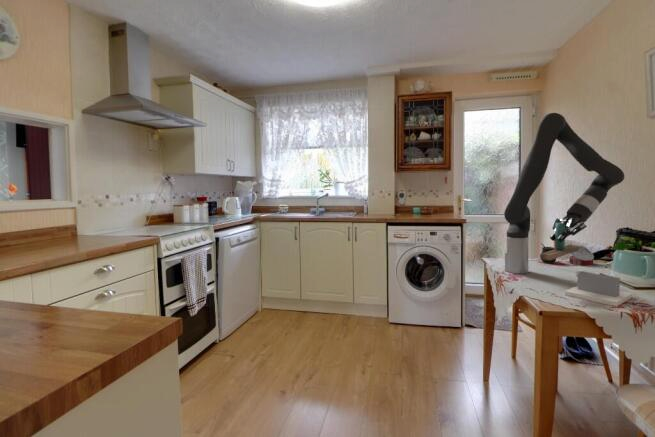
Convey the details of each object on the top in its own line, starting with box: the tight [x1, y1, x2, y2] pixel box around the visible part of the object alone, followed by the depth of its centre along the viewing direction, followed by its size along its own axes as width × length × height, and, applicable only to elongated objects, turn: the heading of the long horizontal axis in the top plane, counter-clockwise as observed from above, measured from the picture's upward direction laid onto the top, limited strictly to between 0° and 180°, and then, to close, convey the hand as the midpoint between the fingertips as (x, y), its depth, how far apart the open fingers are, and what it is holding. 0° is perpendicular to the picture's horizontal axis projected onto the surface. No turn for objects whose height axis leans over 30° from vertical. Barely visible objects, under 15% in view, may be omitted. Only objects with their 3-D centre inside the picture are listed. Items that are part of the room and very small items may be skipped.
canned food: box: [568, 245, 595, 267], centre depth 172 cm, size 11×10×10 cm
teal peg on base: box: [539, 222, 579, 260], centre depth 139 cm, size 4×24×13 cm, turn 122°
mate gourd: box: [540, 242, 557, 264], centre depth 178 cm, size 7×8×10 cm
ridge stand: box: [564, 271, 633, 307], centre depth 127 cm, size 16×14×8 cm
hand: (555, 240), depth 138 cm, fingers closed on teal peg on base, 3 cm apart
